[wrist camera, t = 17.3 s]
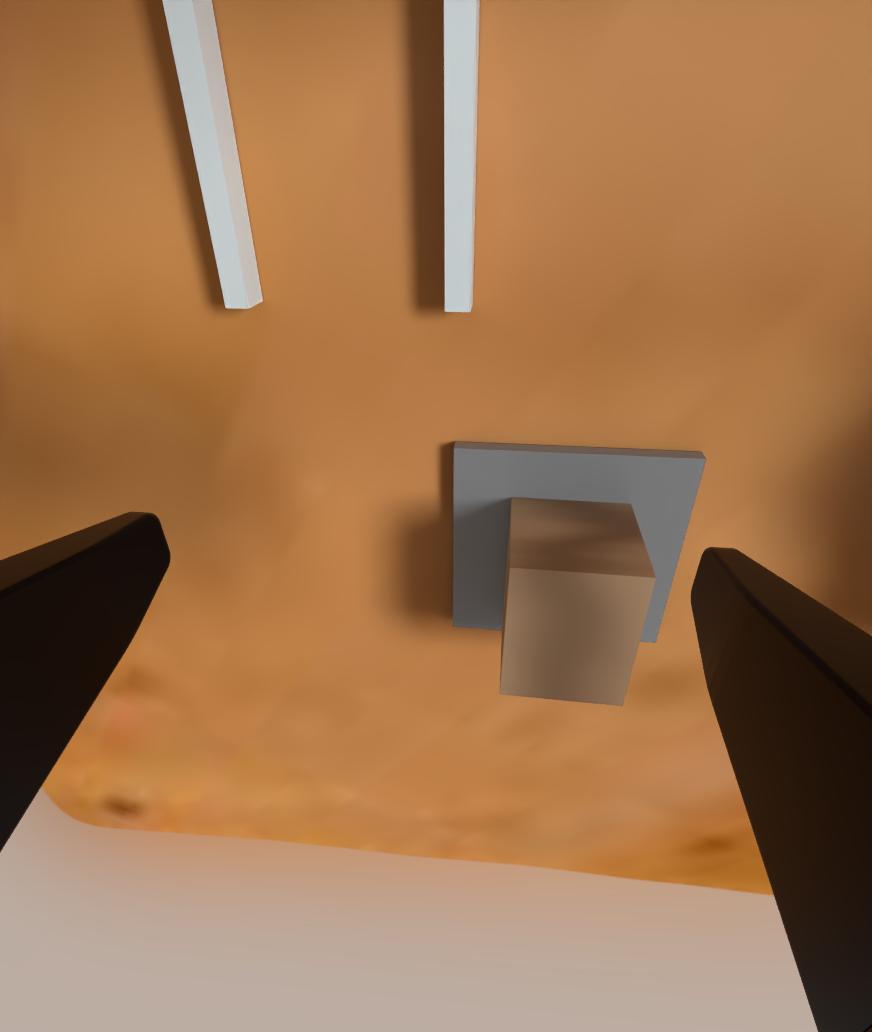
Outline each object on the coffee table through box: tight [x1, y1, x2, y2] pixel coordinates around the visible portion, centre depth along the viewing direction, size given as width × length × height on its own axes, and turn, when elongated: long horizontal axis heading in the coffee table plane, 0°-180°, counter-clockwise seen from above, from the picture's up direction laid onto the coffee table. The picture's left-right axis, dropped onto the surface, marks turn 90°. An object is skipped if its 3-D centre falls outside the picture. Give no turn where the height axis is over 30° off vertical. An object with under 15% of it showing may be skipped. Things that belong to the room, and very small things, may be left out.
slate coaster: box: [453, 441, 706, 643], centre depth 23 cm, size 9×9×1 cm
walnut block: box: [500, 497, 656, 706], centre depth 21 cm, size 4×6×4 cm
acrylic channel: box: [162, 0, 480, 312], centre depth 15 cm, size 8×14×1 cm, turn 0°
